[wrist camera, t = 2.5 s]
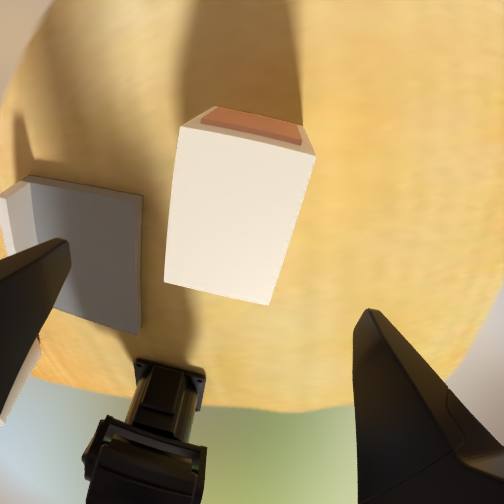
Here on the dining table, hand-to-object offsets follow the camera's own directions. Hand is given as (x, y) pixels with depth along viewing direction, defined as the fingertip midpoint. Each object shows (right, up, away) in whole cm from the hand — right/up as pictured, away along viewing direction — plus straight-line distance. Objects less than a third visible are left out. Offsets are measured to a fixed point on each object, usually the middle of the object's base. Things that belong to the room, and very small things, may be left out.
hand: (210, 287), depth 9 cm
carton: (+1, +5, +8) cm, 9 cm away
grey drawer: (-11, +1, +12) cm, 16 cm away
